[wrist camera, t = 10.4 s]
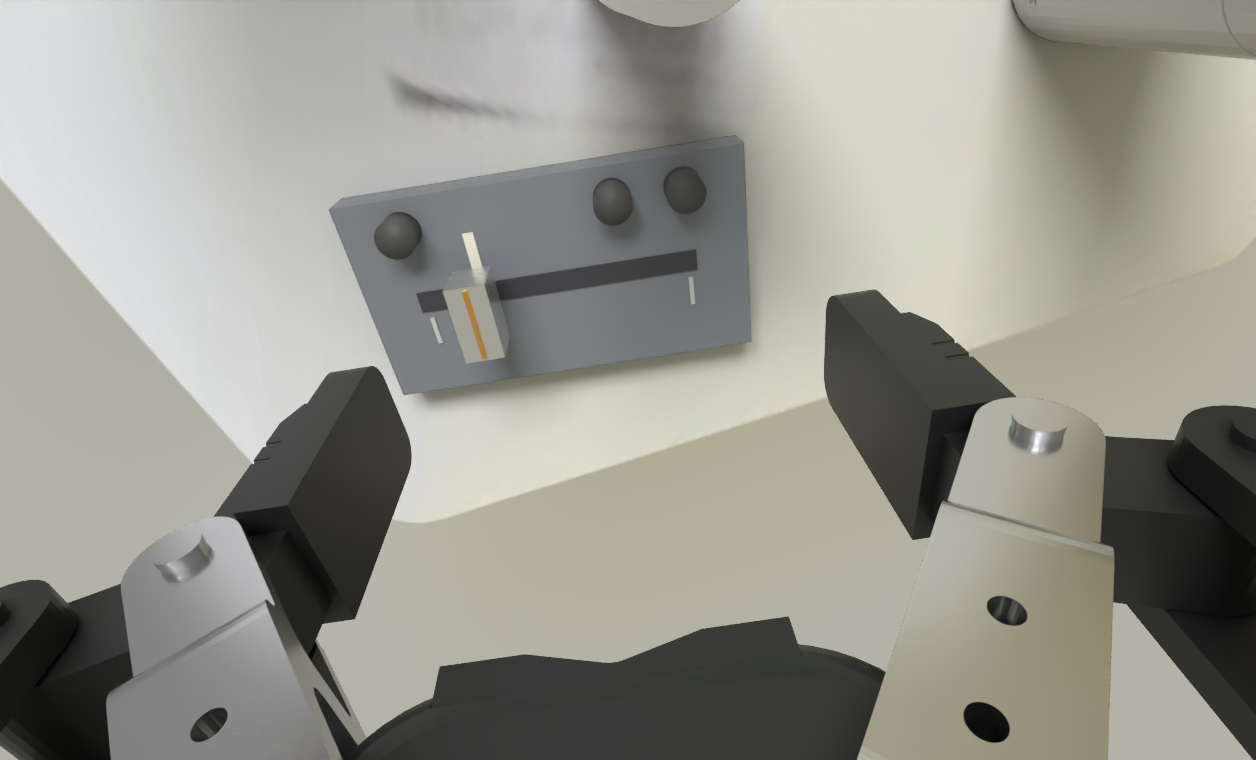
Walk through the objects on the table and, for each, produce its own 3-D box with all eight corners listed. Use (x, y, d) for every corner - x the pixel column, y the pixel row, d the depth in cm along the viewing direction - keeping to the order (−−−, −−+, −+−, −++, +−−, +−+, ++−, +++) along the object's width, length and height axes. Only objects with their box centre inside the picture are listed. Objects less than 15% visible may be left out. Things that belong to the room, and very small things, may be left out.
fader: (493, 256, 40) (484, 285, 36) (512, 324, 43) (504, 358, 39) (456, 262, 40) (442, 291, 36) (476, 330, 43) (466, 364, 39)
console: (735, 135, 40) (751, 149, 36) (743, 326, 47) (758, 355, 43) (342, 198, 40) (316, 219, 36) (411, 377, 48) (396, 410, 44)
